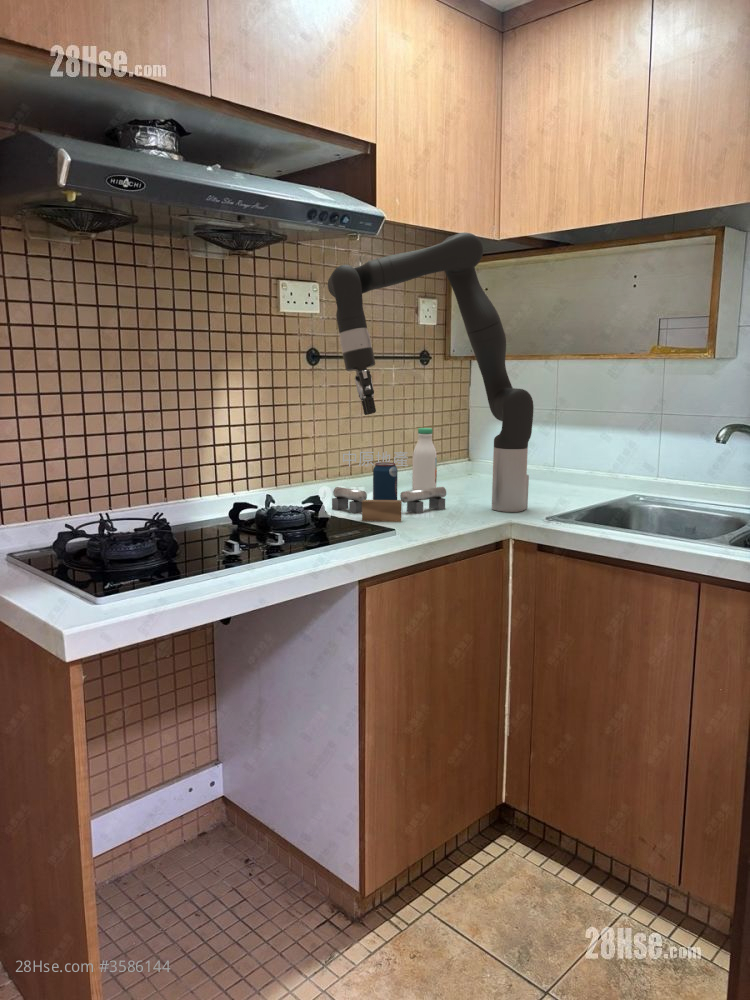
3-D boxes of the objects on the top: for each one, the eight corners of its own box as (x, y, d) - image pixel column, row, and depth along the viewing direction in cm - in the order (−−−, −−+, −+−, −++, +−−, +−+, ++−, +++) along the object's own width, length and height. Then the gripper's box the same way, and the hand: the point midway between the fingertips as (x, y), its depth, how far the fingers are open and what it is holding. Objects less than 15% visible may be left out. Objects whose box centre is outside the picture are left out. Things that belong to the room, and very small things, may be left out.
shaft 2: (437, 506, 202) (437, 485, 201) (447, 509, 199) (447, 487, 198) (399, 512, 194) (399, 490, 193) (408, 514, 191) (408, 492, 190)
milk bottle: (433, 493, 225) (434, 429, 221) (409, 491, 227) (410, 428, 224) (438, 489, 232) (439, 427, 229) (415, 488, 235) (416, 427, 231)
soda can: (401, 506, 203) (402, 464, 201) (380, 508, 200) (380, 465, 197) (389, 502, 209) (389, 461, 207) (368, 504, 206) (368, 462, 203)
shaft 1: (368, 512, 194) (368, 490, 193) (357, 514, 191) (357, 491, 190) (342, 507, 201) (342, 486, 200) (332, 509, 198) (331, 487, 197)
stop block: (362, 518, 185) (362, 499, 184) (401, 519, 185) (401, 500, 184) (361, 521, 182) (362, 501, 181) (401, 521, 182) (401, 502, 181)
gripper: (374, 342, 170) (388, 410, 172) (369, 349, 184) (381, 411, 186) (343, 348, 170) (357, 416, 171) (340, 355, 184) (353, 417, 185)
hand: (370, 413), depth 179 cm, fingers open, 8 cm apart
